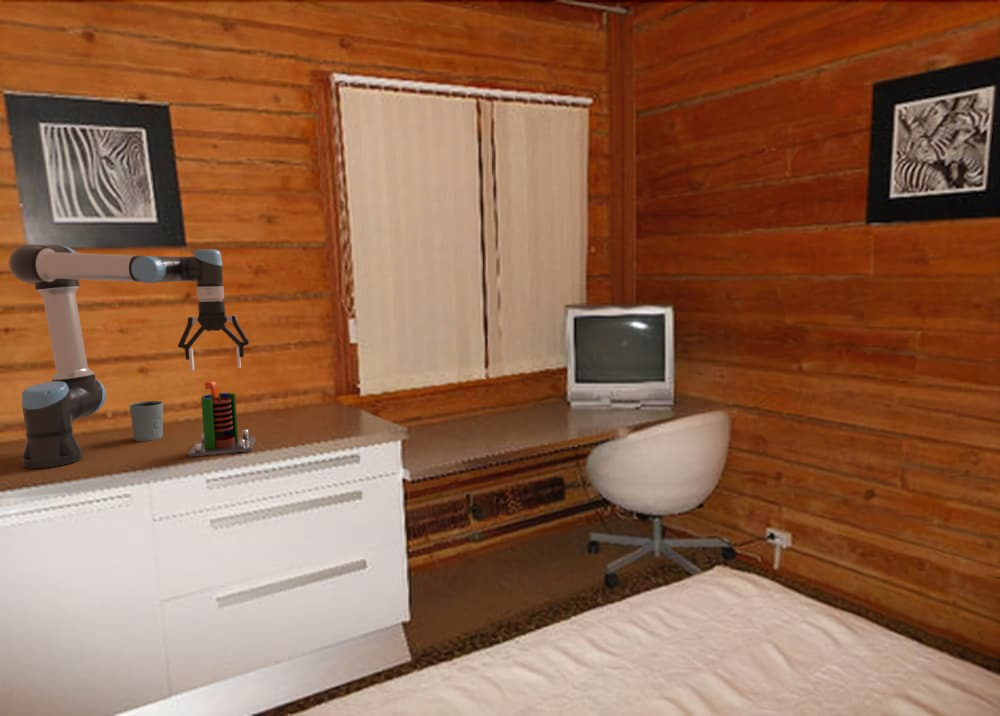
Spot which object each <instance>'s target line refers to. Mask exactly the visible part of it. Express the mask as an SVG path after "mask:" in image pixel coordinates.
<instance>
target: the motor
mask: <svg viewBox="0 0 1000 716" xmlns="http://www.w3.org/2000/svg"><path fill="white" fill-rule="evenodd" d="M204 387H205V388H204V390H210V392H211V393H209V394H204V395H201V397H200V400H201V401H200V403H201V414H202V415H201V416H202V427H203V428H202V431H203V432H202V433H204V446H205V448H209V449H215V448H222V447H229V446H232V445H234V444H235V442H238V438H239V435H238V433H239V432H238V422H237V421H238V418H237V405H236V403H237V402H236V393H235V392H234V393H233V392H219V386H218V384H217V383H216V382H215V381H213V380H212V381H207V382H204Z"/></svg>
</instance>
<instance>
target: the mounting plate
mask: <svg viewBox="0 0 1000 716" xmlns="http://www.w3.org/2000/svg"><path fill="white" fill-rule="evenodd" d="M241 433H242V437H240V436H238V442H235V444H234V445H232V446H229V447H222V448H215V449H209V448H205V446H204V432H202V433H201V434H200V435H201V440H196V441H195V442H194V444H193V446H192V447H191V449H190V450H189V452H188V453H187V456H188V457H190V458H194V457H193V456H201V457H203V456H202V455H212V456H216V455H215V454H223V455H227V454H226V453H233V454H239V453H238V452H244V453H252V452H253V449H254V446H255V443H256V436H255V435H252V436H249V429H242V432H241ZM254 442H255V443H254ZM253 445H254V446H253Z"/></svg>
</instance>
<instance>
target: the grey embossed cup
mask: <svg viewBox="0 0 1000 716" xmlns="http://www.w3.org/2000/svg"><path fill="white" fill-rule="evenodd" d="M128 405H129V412H130V417H131V426H132V430H133V438H134V441H135V440H136V442H150V441H149V440H152V441H156V439H157V440H160V439H162V438H163V437H162V436H164V434H163V432H164V430H163V429H164V426H163V425H164V422H163V421H164V418H163V417H164V416H163V414H164V412H163V411H164V402H163V401H161V400H159V401H158V400H146V401H137V402H132V403H131V404H128ZM161 437H162V438H161ZM159 438H160V439H159Z"/></svg>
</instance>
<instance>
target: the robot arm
mask: <svg viewBox="0 0 1000 716" xmlns="http://www.w3.org/2000/svg"><path fill="white" fill-rule="evenodd" d="M222 261H223V260H222V254H221V252H220V251H219V250H218V249H195V250H194V254H193V256H166V255H165V256H160V255H159V256H158V255H157V256H156V255H133V254H132V255H130V254H105V253H86V252H85V253H82V252H81V253H80V252H77V251H75V249H72V248H71V247H67V246H63V245H58V244H56V245H55V244H23V245H21V246H19V247H17V248H15V250H13V252H12V253H11V254H10V256H9V259H8V266H9V269H10V272H11V273H12V275H13V276H14V277H15V278H17V280H20V281H21V282H23V283H27V284H31V285H34V287H35V288H34V289H35V292H37V293H38V294H40V296H42V301H43V305H44V309H45V316H46V321H47V326H48V332H49V338H50V344H51V350H52V356H53V360H54V367H55V374H54V375H53V376H52V378H51V381H45V382H42V383H37V384H33V385H31V386H28V387H27V388H25V389H24V390H23V391H22V393H21V407H22V413H23V420H24V427H25V428H24V429H25V435H26V441H25V444H24V448H23V449H24V450H23V454H22V456H21V463H22V467H23V468H24V467H25V469H30V468H32V470H33V468H35V469H36V468H39V469H49V468H48V467H50V468H55V467H54V466H56V467H60V466H59V465H62V466H65V465H64V464H66V465H70V464H73V463H76V462H78V461H80V460H82V459H83V450H82V448H81V446H80V444H79V442H78V440H77V439H76V436H75V435H74V430H73V423H72V421H74V420H78V419H80V418H84V417H85V418H86V417H89V416H91V415H93V414H94V413H96V412H98V411H99V410H100V409H101V408H102V407H103V406H104V404H105V401H106V396H107V393H106V392H107V391H106V389H105V386H104V384H103V383H101V381H100V380H98V379H97V378H96V374H95V372H94V371H93V370H91V369H90V368H89V365H88V360H87V354H86V350H85V343H84V336H83V330H82V325H81V320H80V319H81V318H80V313H79V308H78V307H79V306H78V303H77V295H76V293H77V291H78V290H79V289H80V282H79V280H87V281H108V282H109V281H110V282H136V283H137V282H138V283H146V284H156V283H173V282H174V283H175V282H176V283H177V282H196V291H197V293H196V294H197V300H198V303H197V307H198V308H197V309H198V316H197V317H194V316H189V317H188V318H187V324H186V327H185V329H184V330H183V331H184V332H183V334H182V335H181V338H180V340H179V342H178V344H177V347H178V348H180V349H184V355H185V356H184V357H185V360H186V361H189V371H191V372H192V371H195V361H194V360H195V359H194V349H193V348H191V347H192V346H193V345H194V343H195V342H196V341H197V340H198V338H199V337H200V336H201V335H202V334H203V332H204V331H207V332H212V331H215V332H217V331H221V330H222V332H224V333H225V335H227V336H228V337H229V338H230V339H231V341H233V342H234V343H235V344H236V345H237V346H236V348H235V349H236V362H237V366H236V367H237V369H241V368H242V364H241V363H242V362H241V361H242V360H241V359H242V358H244V356H245V351H244V349H245V348H244V347H245V346H249V344H250V340H249V339H248V337H247V335H246V334H245V332H244V331H243V329H242V327H241V325H240V324H239V322H238V318H237V317H238V316H236V314H235V315H234V314H233V315H231V316H227V314H226V307H225V306H226V304H225V301H224V299H225V289H224V282H223V281H224V279H223V278H224V276H223V275H224V274H223V262H222ZM228 321H229V322H230V324H232V325H233V327H234V328H235V330H236V332H237V334H238V335H239V337H240V338H241V340H242V341H241V340H240V338H238V337H237V335H235V334H234V332H232V330H230V329H229V327H227V326H226V325H225V324H226V323H227V322H228ZM197 322H198V323H199V325H200V327H199V328H198V330H197V331H196V332H195V333H194V334H193V336H192V337H191V338H190V339H189V341H188V342H187V343H186V341H187V339H188V337H189V334H190V332H191V330H192V328H193V326H194V325H195V324H196V323H197ZM81 458H82V459H81ZM75 461H76V462H75ZM72 462H73V463H72ZM69 463H70V464H69Z"/></svg>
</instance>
